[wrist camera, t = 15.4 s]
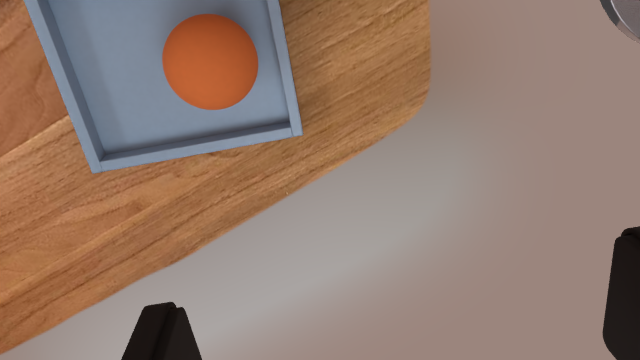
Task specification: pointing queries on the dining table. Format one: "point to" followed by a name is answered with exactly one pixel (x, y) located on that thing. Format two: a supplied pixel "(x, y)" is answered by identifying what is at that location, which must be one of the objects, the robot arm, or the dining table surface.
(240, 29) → the ball
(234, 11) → the tray
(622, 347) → the robot arm
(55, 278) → the dining table surface
